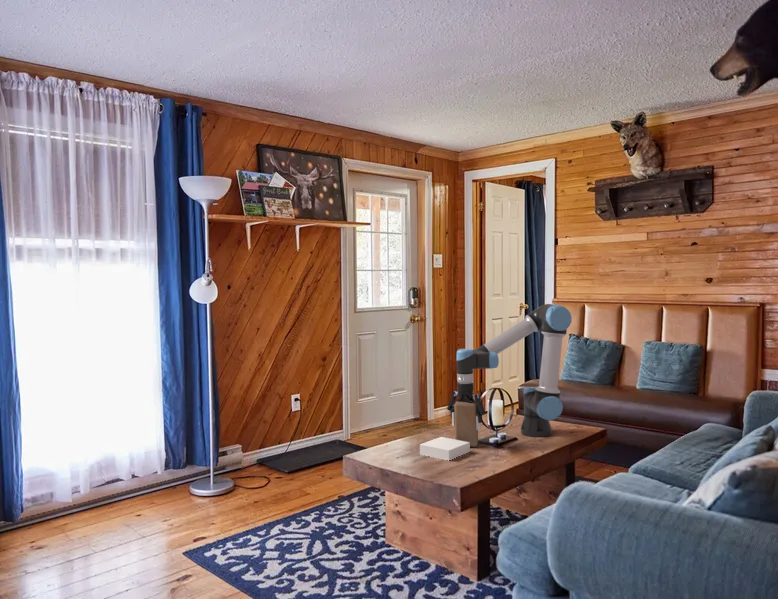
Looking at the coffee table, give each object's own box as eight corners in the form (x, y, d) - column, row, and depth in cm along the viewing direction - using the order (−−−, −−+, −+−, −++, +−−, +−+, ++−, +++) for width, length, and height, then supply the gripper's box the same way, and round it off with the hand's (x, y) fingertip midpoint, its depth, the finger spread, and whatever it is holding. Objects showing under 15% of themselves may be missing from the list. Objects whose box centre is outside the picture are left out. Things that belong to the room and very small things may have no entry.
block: (477, 447, 281) (476, 404, 280) (455, 446, 283) (454, 403, 282) (478, 441, 290) (477, 399, 290) (457, 440, 292) (456, 399, 292)
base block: (470, 453, 274) (469, 442, 274) (449, 462, 262) (448, 450, 262) (441, 447, 285) (441, 436, 285) (419, 455, 273) (419, 444, 273)
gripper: (439, 381, 291) (440, 425, 291) (483, 386, 274) (484, 433, 275) (448, 378, 296) (449, 422, 297) (492, 383, 280) (493, 429, 281)
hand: (466, 427), depth 286 cm, fingers closed on block, 13 cm apart
